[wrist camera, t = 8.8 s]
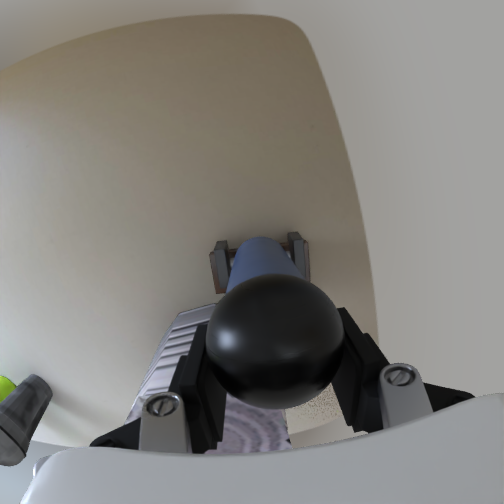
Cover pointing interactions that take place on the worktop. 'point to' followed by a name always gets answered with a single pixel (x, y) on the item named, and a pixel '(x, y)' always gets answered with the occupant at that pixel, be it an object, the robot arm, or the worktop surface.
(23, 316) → the worktop surface
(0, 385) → the soap dispenser
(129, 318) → the worktop surface
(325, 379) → the microphone
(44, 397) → the beverage cup
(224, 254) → the bracket
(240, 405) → the can
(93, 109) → the worktop surface
